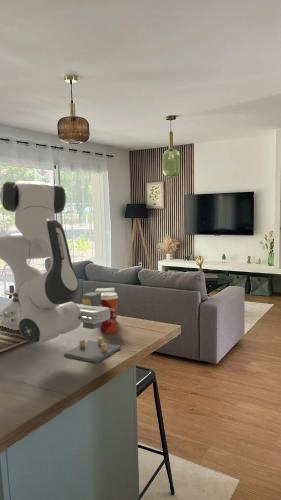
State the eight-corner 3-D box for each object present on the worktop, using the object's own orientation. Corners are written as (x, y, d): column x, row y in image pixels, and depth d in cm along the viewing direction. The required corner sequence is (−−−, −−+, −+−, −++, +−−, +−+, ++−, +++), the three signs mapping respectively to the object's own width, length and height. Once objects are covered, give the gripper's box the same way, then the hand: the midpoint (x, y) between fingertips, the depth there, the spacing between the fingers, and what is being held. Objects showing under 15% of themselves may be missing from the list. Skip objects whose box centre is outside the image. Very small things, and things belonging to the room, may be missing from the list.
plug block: (82, 328, 120) (81, 295, 119) (92, 323, 125) (91, 292, 124) (92, 329, 118) (91, 296, 118) (101, 325, 123) (100, 293, 122)
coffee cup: (115, 334, 141) (114, 296, 140) (95, 333, 143) (94, 295, 141) (121, 328, 149) (120, 292, 148) (101, 327, 151) (101, 291, 150)
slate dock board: (64, 356, 120) (63, 345, 120) (89, 342, 132) (89, 333, 132) (97, 363, 114) (96, 352, 113) (120, 348, 126) (120, 338, 126)
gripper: (95, 309, 105) (120, 300, 117) (41, 303, 115) (69, 294, 127) (95, 331, 105) (120, 319, 118) (42, 322, 115) (70, 312, 127)
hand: (93, 306), depth 122 cm, fingers closed on plug block, 4 cm apart
